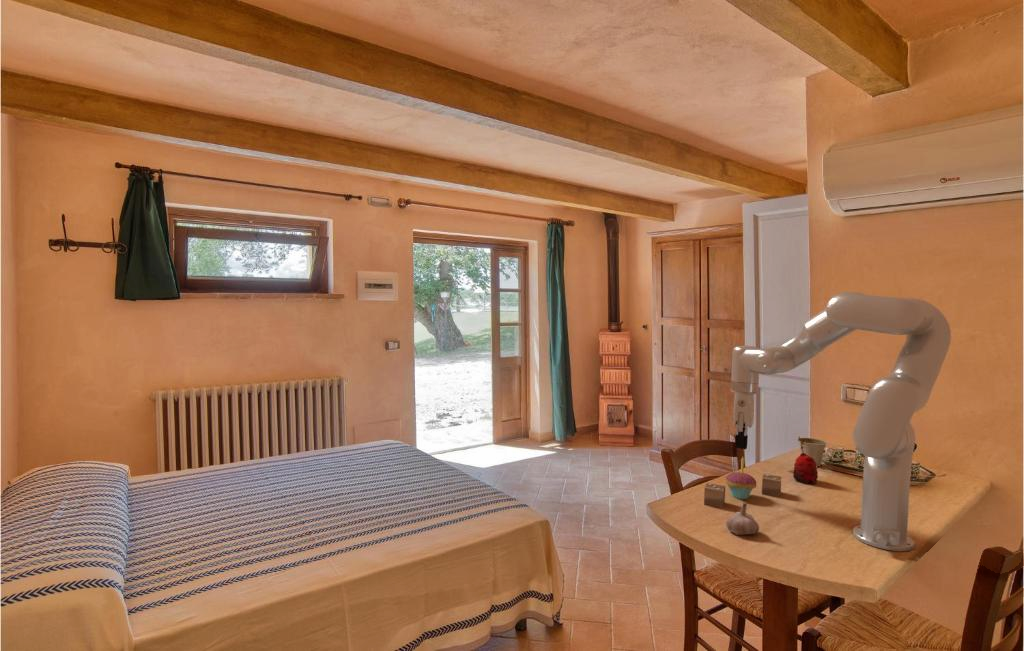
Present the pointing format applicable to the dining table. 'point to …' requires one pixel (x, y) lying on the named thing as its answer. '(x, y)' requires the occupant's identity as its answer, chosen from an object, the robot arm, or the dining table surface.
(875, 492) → the robot arm
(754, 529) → the garlic bulb
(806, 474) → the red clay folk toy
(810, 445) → the flower pot
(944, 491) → the dining table surface
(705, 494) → the three dot block
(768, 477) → the two dot block
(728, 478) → the cupcake
